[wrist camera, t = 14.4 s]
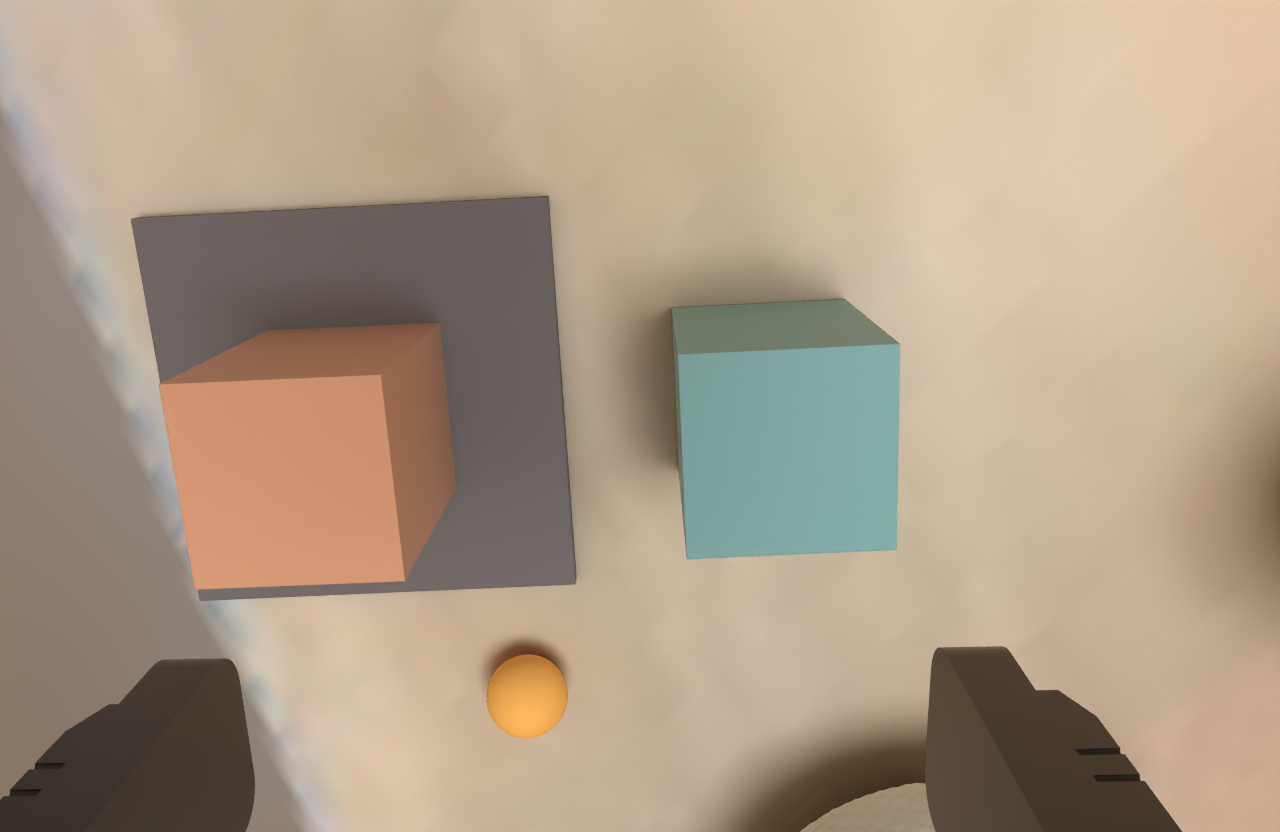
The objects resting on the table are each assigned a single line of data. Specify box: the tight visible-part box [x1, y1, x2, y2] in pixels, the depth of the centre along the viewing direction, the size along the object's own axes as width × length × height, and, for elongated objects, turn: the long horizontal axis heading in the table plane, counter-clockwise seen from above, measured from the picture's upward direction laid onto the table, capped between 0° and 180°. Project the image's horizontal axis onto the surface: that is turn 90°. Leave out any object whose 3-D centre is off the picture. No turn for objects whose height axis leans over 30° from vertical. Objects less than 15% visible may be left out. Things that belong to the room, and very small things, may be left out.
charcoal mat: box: [131, 196, 576, 601], centre depth 36 cm, size 14×14×1 cm
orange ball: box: [486, 654, 568, 738], centre depth 38 cm, size 3×3×3 cm
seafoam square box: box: [672, 299, 900, 559], centre depth 32 cm, size 6×6×8 cm
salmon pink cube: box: [159, 323, 456, 590], centre depth 32 cm, size 6×6×8 cm
